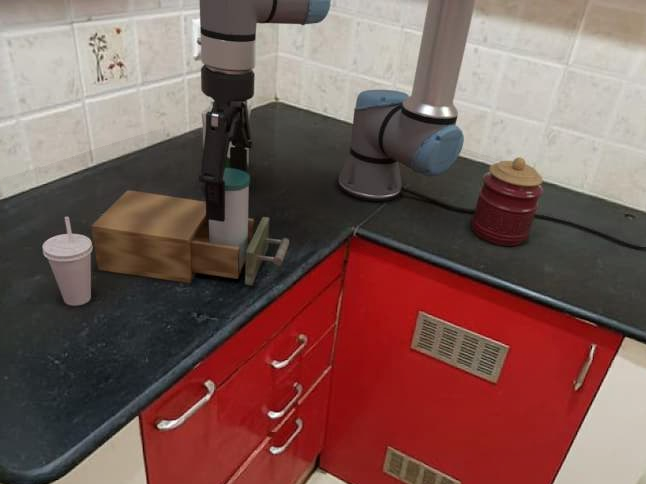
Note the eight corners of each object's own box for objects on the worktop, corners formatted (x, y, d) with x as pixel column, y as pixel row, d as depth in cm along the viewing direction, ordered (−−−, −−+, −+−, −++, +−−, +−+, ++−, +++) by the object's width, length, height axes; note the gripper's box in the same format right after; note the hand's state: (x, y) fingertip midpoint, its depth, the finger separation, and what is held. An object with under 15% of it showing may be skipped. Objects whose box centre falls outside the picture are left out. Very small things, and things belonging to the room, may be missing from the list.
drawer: (291, 251, 104) (293, 221, 100) (278, 289, 93) (279, 257, 89) (192, 236, 103) (190, 205, 99) (167, 273, 92) (165, 239, 89)
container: (252, 248, 100) (254, 171, 92) (243, 268, 95) (244, 187, 86) (215, 243, 100) (213, 165, 92) (203, 262, 94) (201, 181, 86)
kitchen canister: (479, 213, 132) (499, 141, 122) (532, 230, 128) (557, 158, 118) (462, 234, 121) (482, 157, 112) (519, 253, 118) (545, 176, 108)
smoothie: (98, 309, 84) (84, 228, 76) (50, 312, 82) (31, 229, 74) (102, 285, 89) (90, 206, 81) (57, 287, 87) (40, 206, 79)
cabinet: (214, 242, 104) (213, 202, 99) (190, 283, 92) (188, 240, 88) (132, 230, 103) (127, 189, 99) (97, 269, 92) (90, 225, 87)
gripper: (225, 46, 90) (225, 168, 102) (170, 84, 69) (178, 232, 81) (271, 54, 90) (266, 175, 102) (231, 94, 69) (230, 240, 81)
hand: (227, 201), depth 91 cm, fingers open, 13 cm apart
